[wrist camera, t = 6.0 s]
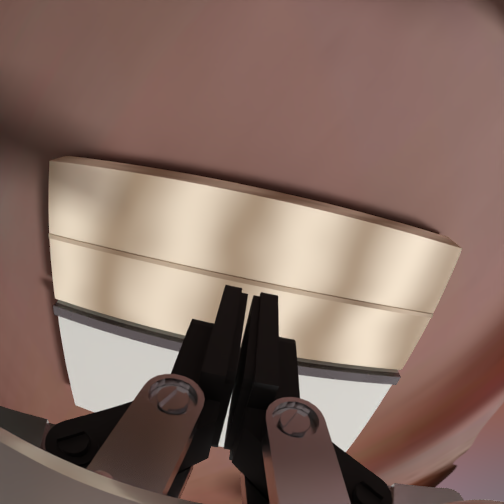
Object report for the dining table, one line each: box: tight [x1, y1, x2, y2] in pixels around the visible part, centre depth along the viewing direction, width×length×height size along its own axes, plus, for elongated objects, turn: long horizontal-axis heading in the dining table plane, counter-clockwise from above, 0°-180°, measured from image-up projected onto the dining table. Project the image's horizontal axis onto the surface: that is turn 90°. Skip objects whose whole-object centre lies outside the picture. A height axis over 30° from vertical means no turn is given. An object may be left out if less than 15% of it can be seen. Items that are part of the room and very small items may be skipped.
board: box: [53, 300, 400, 452], centre depth 24 cm, size 26×12×2 cm, turn 78°
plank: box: [49, 156, 462, 370], centre depth 20 cm, size 26×10×2 cm, turn 78°
